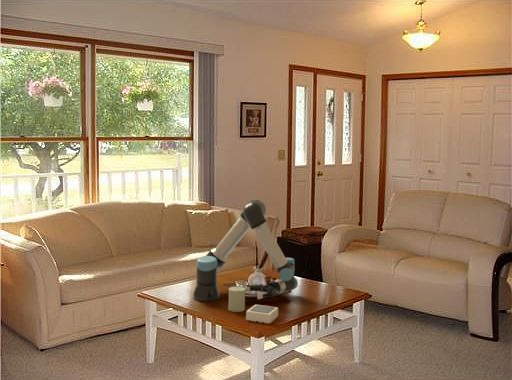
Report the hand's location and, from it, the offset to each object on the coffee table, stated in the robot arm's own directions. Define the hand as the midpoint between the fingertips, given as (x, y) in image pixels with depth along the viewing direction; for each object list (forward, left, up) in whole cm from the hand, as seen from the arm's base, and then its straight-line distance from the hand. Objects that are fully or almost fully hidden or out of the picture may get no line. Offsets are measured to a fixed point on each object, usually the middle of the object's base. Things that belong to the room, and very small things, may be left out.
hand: (249, 293), depth 347 cm
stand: (+14, -16, -7) cm, 23 cm away
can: (-4, -8, -7) cm, 12 cm away
